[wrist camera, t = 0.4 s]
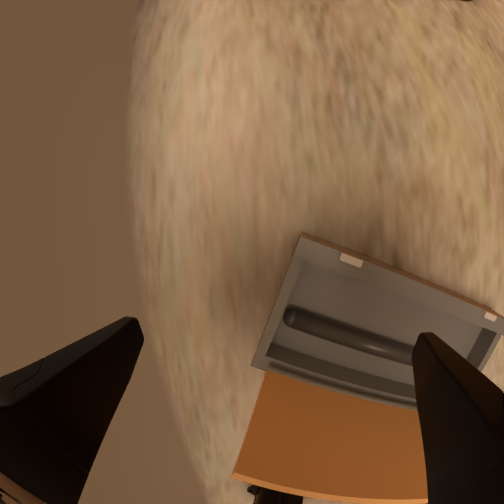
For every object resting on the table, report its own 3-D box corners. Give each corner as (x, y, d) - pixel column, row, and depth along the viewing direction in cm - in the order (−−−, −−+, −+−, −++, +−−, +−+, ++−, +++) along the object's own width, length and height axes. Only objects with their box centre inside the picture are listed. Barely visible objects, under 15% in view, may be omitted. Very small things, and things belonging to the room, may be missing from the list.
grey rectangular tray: (440, 398, 23) (453, 423, 19) (257, 346, 26) (247, 372, 21) (490, 308, 21) (514, 324, 16) (301, 231, 23) (300, 237, 19)
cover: (450, 409, 19) (444, 416, 19) (269, 362, 21) (265, 371, 22) (478, 491, 9) (469, 498, 9) (234, 471, 11) (230, 478, 12)
